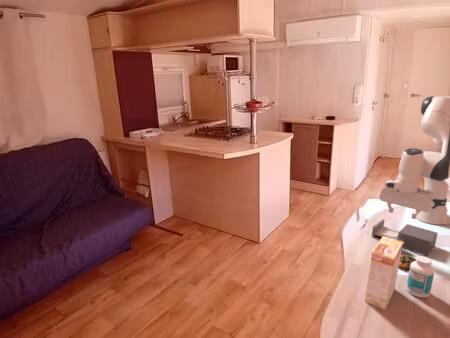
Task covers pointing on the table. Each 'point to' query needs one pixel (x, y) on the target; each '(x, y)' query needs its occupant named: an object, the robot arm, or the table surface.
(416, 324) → the table surface
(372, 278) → the coffeecake box
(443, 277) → the table surface
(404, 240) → the disc
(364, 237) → the table surface
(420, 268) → the pill bottle
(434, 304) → the table surface
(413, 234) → the block
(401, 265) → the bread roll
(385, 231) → the tray
